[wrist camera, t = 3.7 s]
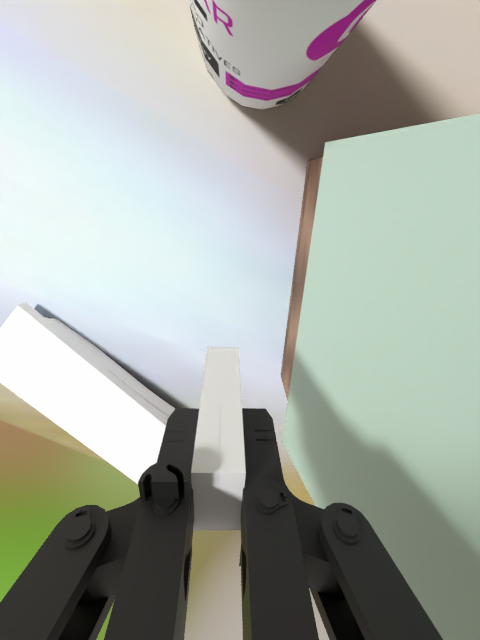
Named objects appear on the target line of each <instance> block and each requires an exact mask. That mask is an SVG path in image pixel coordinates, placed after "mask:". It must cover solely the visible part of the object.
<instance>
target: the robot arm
mask: <svg viewBox="0 0 480 640" xmlns="http://www.w3.org/2000/svg"><path fill="white" fill-rule="evenodd" d="M138 486H139V491H140V498H138V499H137V500H135V501H134V502H132V503H130V504H127V505H125V506H122V507H119V508H116V509H113V510H110V511H107V512H105V510H104V509H103V508H101V507H99V506H97V505H86V506H83V507H79V508H77V509H75V510H73V511H72V512H70V513H69V514H67V515H66V516H65V517H64V518H63V519H62V520H61V521H60V522H59V523H58V524H57V526H56V527H55V528H54V530H53V531H52V532H51V534H50V535H49V536H48V538H47V539H46V541H45V542H44V543H43V545H42V546H41V548H40V549H39V550H38V552H37V553H36V555H35V556H34V557H33V558H32V560H31V562H30V563H29V564H28V565H27V567H26V568H25V570H24V571H23V572H22V574H21V575H20V576H19V578H18V579H17V580H16V582H15V583H14V585H13V586H12V588H11V589H10V590H9V591H8V593H7V594H6V596H5V597H4V598H3V600H2V601H1V602H0V640H96V639H97V636H98V634H99V632H100V630H101V628H102V626H103V623H104V621H105V619H106V617H107V615H108V612H109V610H110V608H111V606H112V604H113V602H114V604H113V608H112V612H111V616H110V619H109V623H108V627H107V630H106V634H105V638H104V640H184V633H185V621H186V612H187V601H188V591H189V581H190V570H191V559H192V536H193V531H197V530H198V531H200V530H241V553H240V565H239V566H241V583H242V584H241V585H242V620H243V640H319V638H318V633H317V628H316V622H315V617H314V612H313V607H312V602H311V597H310V591H309V588H310V590H311V593H312V595H313V598H314V600H315V603H316V606H317V608H318V611H319V613H320V616H321V618H322V621H323V624H324V626H325V629H326V631H327V634H328V637H329V639H330V640H443V639H442V637H441V635H440V634H439V632H438V631H437V629H436V628H435V626H434V624H433V623H432V621H431V620H430V618H429V616H428V615H427V613H426V612H425V610H424V609H423V607H422V605H421V604H420V602H419V601H418V599H417V597H416V596H415V594H414V593H413V591H412V590H411V588H410V586H409V585H408V583H407V582H406V580H405V578H404V577H403V575H402V574H401V572H400V571H399V569H398V567H397V566H396V564H395V563H394V561H393V559H392V558H391V556H390V555H389V553H388V552H387V550H386V548H385V547H384V545H383V544H382V542H381V540H380V539H379V537H378V536H377V534H376V532H375V531H374V529H373V528H372V526H371V525H370V523H369V521H368V520H367V519H366V518H365V517H364V515H363V514H362V513H361V512H360V511H359V510H357V509H356V508H354V507H353V506H351V505H348V504H345V503H342V502H341V503H332V504H330V505H329V506H327V507H326V508H325V509H322V508H320V507H317V506H314V505H311V504H308V503H305V502H303V501H301V500H299V499H298V498H297V497H295V496H294V495H293V494H292V493H291V492H290V491H289V489H288V488H287V486H286V484H285V482H284V478H283V474H282V468H281V463H280V457H279V452H278V446H277V442H276V435H275V432H274V424H273V419H272V417H271V416H270V414H269V413H268V412H267V410H266V409H245V408H242V399H241V382H240V365H239V348H228V347H207V353H206V361H205V369H204V377H203V384H202V392H201V400H200V407H199V409H175V410H174V411H173V413H172V414H171V415H170V416H169V418H168V420H167V424H166V428H165V432H164V435H163V439H162V443H161V447H160V451H159V455H158V459H157V463H155V464H153V465H151V466H150V467H149V468H148V469H146V470H145V471H144V472H143V473H142V475H141V477H140V479H139V481H138ZM114 599H115V601H114Z"/></svg>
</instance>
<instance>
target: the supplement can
mask: <svg viewBox="0 0 480 640" xmlns="http://www.w3.org/2000/svg"><path fill="white" fill-rule="evenodd" d="M375 2H376V0H189V4H190V9H191V13H192V18H193V22H194V27H195V31H196V36H197V40H198V44H199V48H200V50H201V53H202V56H203V59H204V62H205V65H206V68H207V71H208V73H209V74H210V76H211V77H212V78H213V80H214V81H215V83H216V84H217V85H218V87H219V88H220V89H221V91H222V92H223V93H224V94H225V95H227V96H228V97H230V98H231V99H233V100H234V101H236V102H237V103H239V104H240V105H242V106H246V107H251V108H257V109H262V110H263V109H267V108H271V107H276V106H280V105H283V104H285V103H286V102H288V101H289V100H290V99H292V98H293V97H294V96H296V95H297V94H299V93H300V92H301V91H302V90H303V89H304V88H305V87H306V86H307V84H308V83H309V82H310V81H311V79H312V78H313V77H314V76H315V75H316V73H317V72H318V71H319V70H320V69H321V67H322V66H323V65H324V64H325V62H326V61H327V60H328V59H329V58H330V56H331V55H332V54H333V53H334V52H335V50H336V49H337V48H338V47H339V45H340V44H341V43H342V42H343V41H344V39H345V38H346V37H347V36H348V34H349V33H350V32H351V31H352V30H353V28H354V27H355V26H356V25H357V24H358V22H359V21H360V20H361V19H362V17H363V16H364V15H365V14H366V13H367V11H368V10H369V9H370V8H371V7H372V5H373V4H374V3H375Z"/></svg>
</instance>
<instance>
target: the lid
mask: <svg viewBox="0 0 480 640" xmlns="http://www.w3.org/2000/svg"><path fill="white" fill-rule="evenodd" d="M282 443H283V445H284V447H285V448H286V450H287V452H288V454H289V456H290V458H291V460H292V462H293V464H294V466H295V467H296V469H297V471H298V473H299V475H300V477H301V479H302V481H303V483H304V485H305V486H306V488H307V490H308V492H309V494H310V496H311V498H312V500H313V502H314V504H315V505H316V506H317V507H320V508H322V509H325V508H326V507H327V506H329V505H330V504H332V503H341V502H342V503H345V504H348V505H351V506H353V507H354V508H356V509H357V510H359V511H360V512H361V513H362V514H363V515H364V517H365V518H366V519H367V520H368V521H369V523H370V525H371V526H372V528H373V529H374V531H375V532H376V534H377V536H378V537H379V539H380V540H381V542H382V544H383V545H384V547H385V548H386V550H387V552H388V553H389V555H390V556H391V558H392V559H393V561H394V563H395V564H396V566H397V567H398V569H399V571H400V572H401V574H402V575H403V577H404V578H405V580H406V582H407V583H408V585H409V586H410V588H411V590H412V591H413V593H414V594H415V596H416V597H417V599H418V601H419V602H420V604H421V605H422V607H423V609H424V610H425V612H426V613H427V615H428V616H429V618H430V620H431V621H432V623H433V624H434V626H435V628H436V629H437V631H438V632H439V634H440V635H441V637H442V639H443V640H480V113H479V114H474V115H469V116H463V117H458V118H453V119H447V120H442V121H436V122H431V123H426V124H420V125H415V126H410V127H404V128H399V129H394V130H388V131H383V132H378V133H372V134H367V135H361V136H356V137H351V138H345V139H340V140H335V141H329V142H325V147H324V154H323V161H322V168H321V175H320V182H319V189H318V195H317V202H316V209H315V216H314V223H313V230H312V237H311V244H310V251H309V258H308V265H307V271H306V278H305V285H304V292H303V299H302V306H301V313H300V320H299V327H298V334H297V340H296V347H295V354H294V361H293V368H292V375H291V382H290V389H289V396H288V403H287V409H286V416H285V423H284V430H283V437H282Z"/></svg>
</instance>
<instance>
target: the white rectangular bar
mask: <svg viewBox="0 0 480 640" xmlns="http://www.w3.org/2000/svg"><path fill="white" fill-rule="evenodd" d="M0 383H1V384H3V385H4V386H5V387H7V388H8V389H9V390H11V391H12V392H13V393H15V394H16V395H18V396H19V397H20V398H22V399H23V400H24V401H26V402H27V403H28V404H30V405H31V406H33V407H34V408H35V409H37V410H38V411H39V412H41V413H42V414H43V415H45V416H46V417H47V418H49V419H50V420H52V421H53V422H54V423H56V424H57V425H58V426H60V427H61V428H62V429H64V430H65V431H66V432H68V433H69V434H71V435H72V436H73V437H75V438H76V439H77V440H79V441H80V442H81V443H83V444H84V445H86V446H87V447H88V448H90V449H91V450H92V451H94V452H95V453H96V454H98V455H99V456H100V457H102V458H103V459H105V460H106V461H107V462H109V463H110V464H111V465H113V466H114V467H115V468H117V469H118V470H119V471H121V472H122V473H124V474H125V475H126V476H128V477H129V478H130V479H132V480H133V481H134V482H136V483H137V484H138V481H139V479H140V477H141V475H142V473H143V472H144V471H145V470H146V469H148V468H149V467H150V466H151V465H153V464H155V463H157V459H158V455H159V451H160V447H161V443H162V439H163V435H164V432H165V428H166V424H167V420H168V418H169V416H170V415H171V414H172V413H173V411H174V410H175V408H174V407H172V406H171V405H169V404H168V403H166V402H165V401H164V400H162V399H161V398H159V397H158V396H157V395H155V394H154V393H153V392H151V391H150V390H149V389H147V388H146V387H145V386H144V385H142V384H141V383H140V382H139V381H137V380H136V379H135V378H134V377H133V376H131V375H130V374H129V373H128V372H126V371H125V370H124V369H123V368H121V367H120V366H119V365H118V364H117V363H115V362H114V361H113V360H112V359H110V358H109V357H108V356H107V355H106V354H104V353H103V352H102V351H101V350H99V349H98V348H97V347H96V346H94V345H93V344H91V343H90V342H89V341H87V340H86V339H84V338H83V337H81V336H80V335H79V334H77V333H76V332H74V331H73V330H71V329H70V328H69V327H67V326H66V325H64V324H63V323H61V322H60V321H59V320H57V319H54V318H50V319H48V318H47V317H45V318H44V317H43V316H42V315H41V314H39V313H38V312H37V311H36V310H35V309H33V308H32V307H31V306H30V305H29V304H27V303H26V302H25V303H23V304H20V305H18V306H17V307H16V309H15V310H14V311H13V312H12V314H11V315H10V316H9V318H8V319H7V320H6V321H5V323H4V324H3V325H2V326H1V328H0Z"/></svg>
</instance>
